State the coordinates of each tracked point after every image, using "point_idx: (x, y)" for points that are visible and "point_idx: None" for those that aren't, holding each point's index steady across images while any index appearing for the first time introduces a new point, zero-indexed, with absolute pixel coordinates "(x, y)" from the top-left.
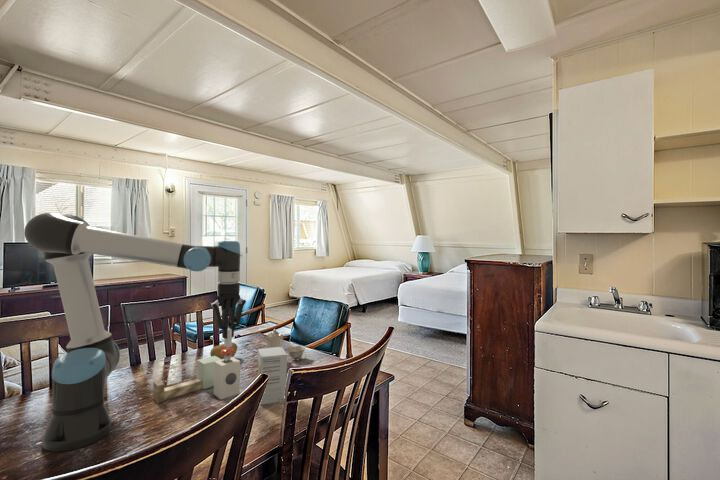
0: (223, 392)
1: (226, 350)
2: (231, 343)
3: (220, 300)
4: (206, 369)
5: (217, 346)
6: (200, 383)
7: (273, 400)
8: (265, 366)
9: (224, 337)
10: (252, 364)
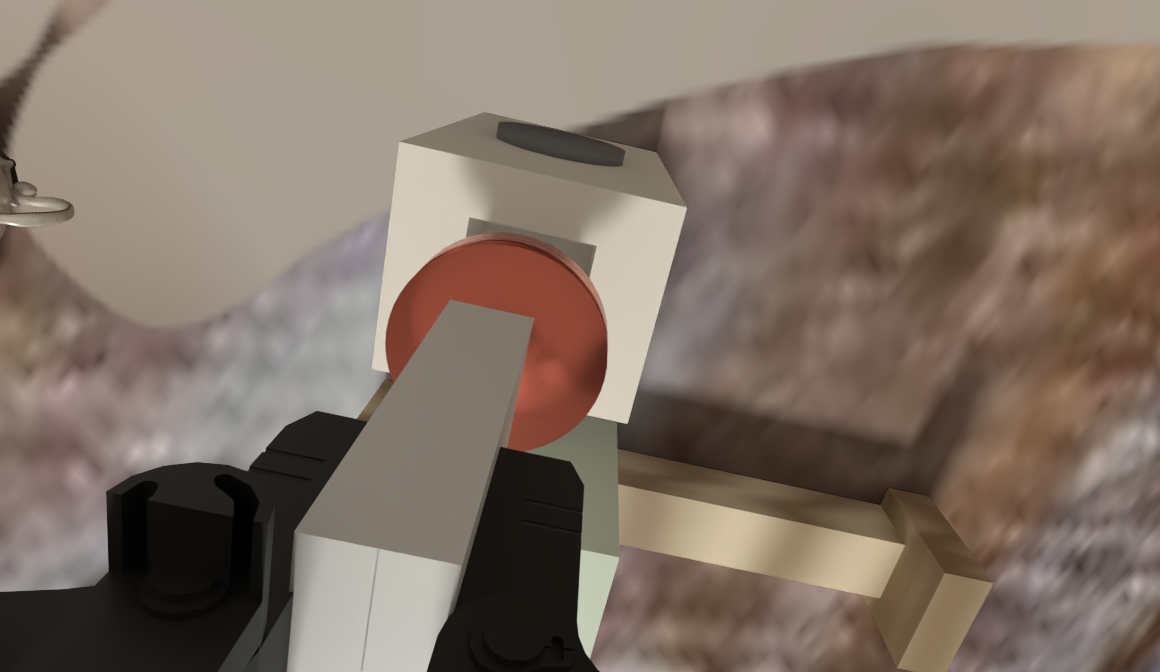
0: (637, 154)
1: (529, 342)
2: (435, 327)
3: None
4: (590, 508)
5: None
6: (618, 474)
7: None
8: None
9: (570, 480)
10: (49, 495)
